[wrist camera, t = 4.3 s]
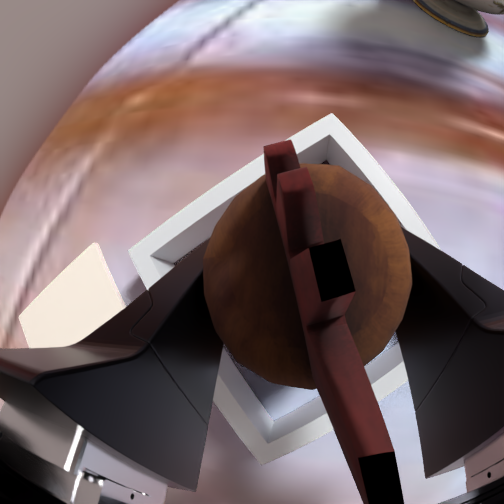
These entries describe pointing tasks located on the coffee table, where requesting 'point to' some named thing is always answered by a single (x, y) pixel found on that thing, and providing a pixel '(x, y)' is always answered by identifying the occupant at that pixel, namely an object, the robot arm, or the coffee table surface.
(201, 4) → the coffee table surface
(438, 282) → the robot arm
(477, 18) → the apothecary jar
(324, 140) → the white square tray
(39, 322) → the tile
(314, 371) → the wooden figurine
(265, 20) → the coffee table surface
